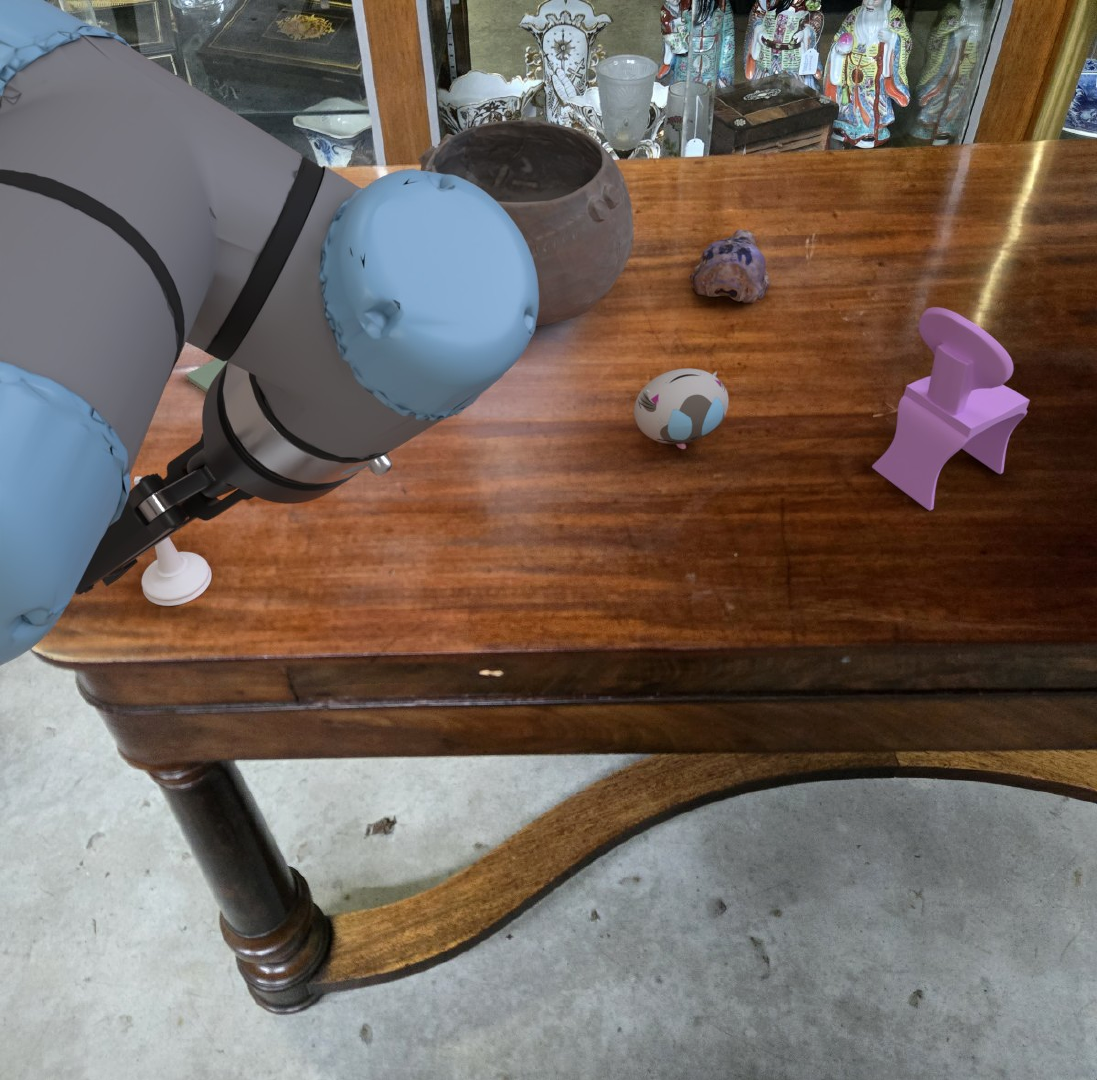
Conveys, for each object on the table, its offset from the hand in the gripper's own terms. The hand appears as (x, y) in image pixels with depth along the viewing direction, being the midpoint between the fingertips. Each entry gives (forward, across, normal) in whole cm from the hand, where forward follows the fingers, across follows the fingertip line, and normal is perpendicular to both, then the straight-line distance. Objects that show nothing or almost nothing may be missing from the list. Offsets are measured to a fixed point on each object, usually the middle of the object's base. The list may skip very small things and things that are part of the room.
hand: (197, 504), depth 64 cm
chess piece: (+14, 0, -3) cm, 15 cm away
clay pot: (+19, +45, +2) cm, 49 cm away
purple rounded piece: (+10, +61, -8) cm, 62 cm away
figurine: (+2, +37, -16) cm, 40 cm away
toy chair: (-11, +48, -29) cm, 57 cm away
